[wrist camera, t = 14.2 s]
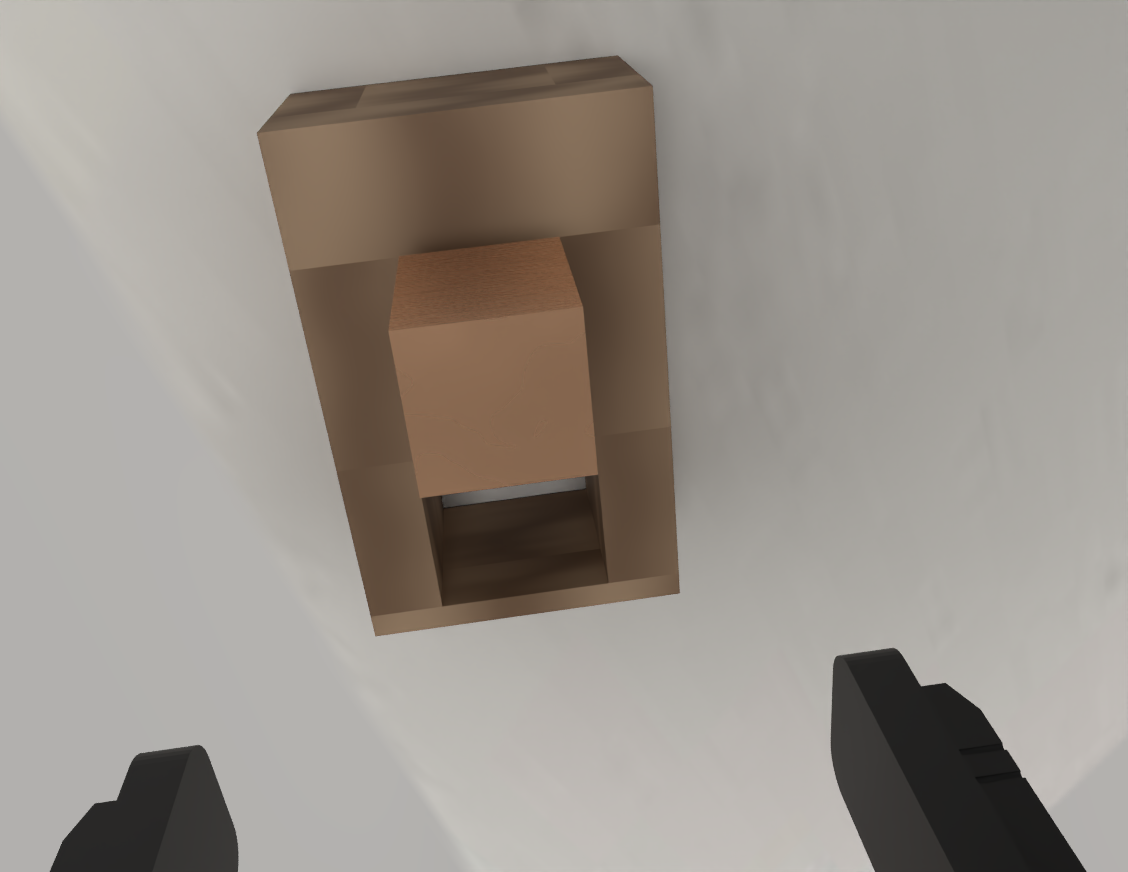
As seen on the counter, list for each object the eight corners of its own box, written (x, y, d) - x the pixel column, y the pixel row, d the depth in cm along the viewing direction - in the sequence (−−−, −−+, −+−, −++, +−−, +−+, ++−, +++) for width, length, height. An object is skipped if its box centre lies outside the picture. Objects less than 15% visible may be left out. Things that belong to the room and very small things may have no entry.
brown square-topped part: (535, 164, 32) (583, 306, 21) (547, 283, 34) (597, 474, 23) (409, 179, 32) (388, 331, 20) (429, 298, 34) (419, 498, 22)
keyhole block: (617, 55, 31) (652, 85, 26) (647, 498, 38) (679, 593, 33) (290, 94, 30) (256, 133, 25) (385, 534, 38) (375, 636, 33)
